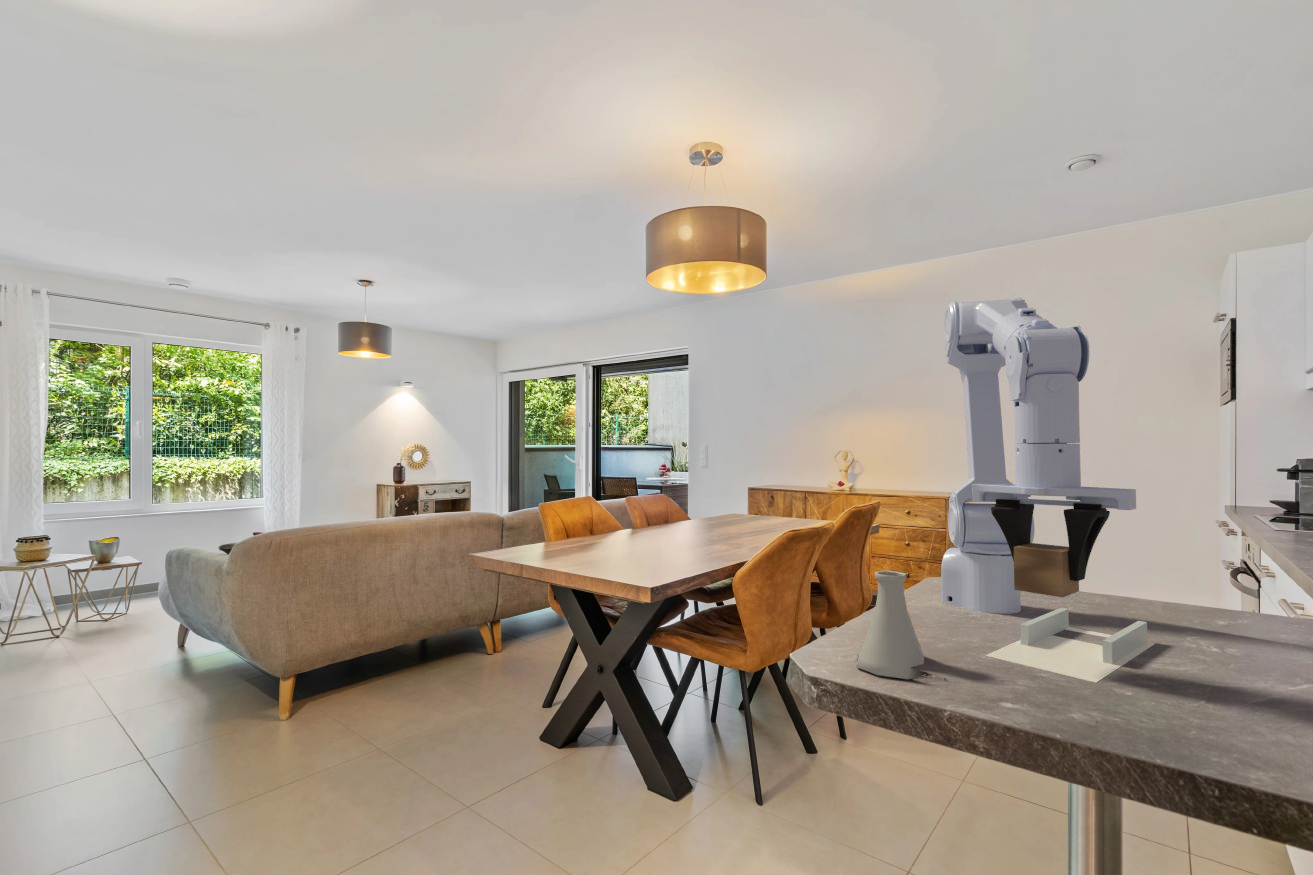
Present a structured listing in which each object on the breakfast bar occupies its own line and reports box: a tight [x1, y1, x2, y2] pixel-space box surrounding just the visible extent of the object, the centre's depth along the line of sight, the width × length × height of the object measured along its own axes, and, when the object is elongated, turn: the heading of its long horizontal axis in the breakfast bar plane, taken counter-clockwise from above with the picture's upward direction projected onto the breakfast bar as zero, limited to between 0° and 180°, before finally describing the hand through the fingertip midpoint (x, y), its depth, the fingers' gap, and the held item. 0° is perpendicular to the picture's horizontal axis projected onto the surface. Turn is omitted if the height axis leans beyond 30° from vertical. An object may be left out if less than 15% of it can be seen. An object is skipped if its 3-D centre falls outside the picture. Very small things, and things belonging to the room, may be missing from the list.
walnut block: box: [1014, 542, 1080, 598], centre depth 64 cm, size 4×4×4 cm
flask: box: [855, 570, 928, 680], centre depth 66 cm, size 7×7×10 cm
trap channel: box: [985, 607, 1156, 684], centre depth 68 cm, size 10×19×3 cm, turn 128°
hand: (1049, 575), depth 64 cm, fingers closed on walnut block, 4 cm apart
